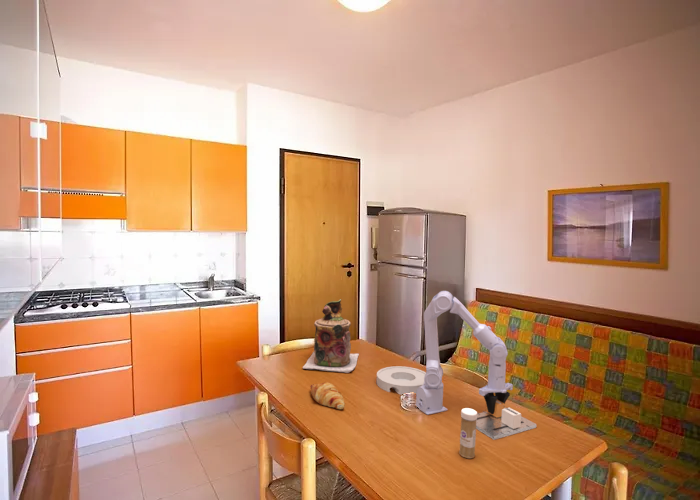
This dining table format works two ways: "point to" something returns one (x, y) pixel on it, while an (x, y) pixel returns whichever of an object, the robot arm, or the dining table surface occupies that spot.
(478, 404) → the dining table surface
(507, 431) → the console
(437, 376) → the robot arm
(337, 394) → the croissant
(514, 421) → the fader cap
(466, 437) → the sprinkles bottle
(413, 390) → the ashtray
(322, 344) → the cookie jar
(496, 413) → the cap
